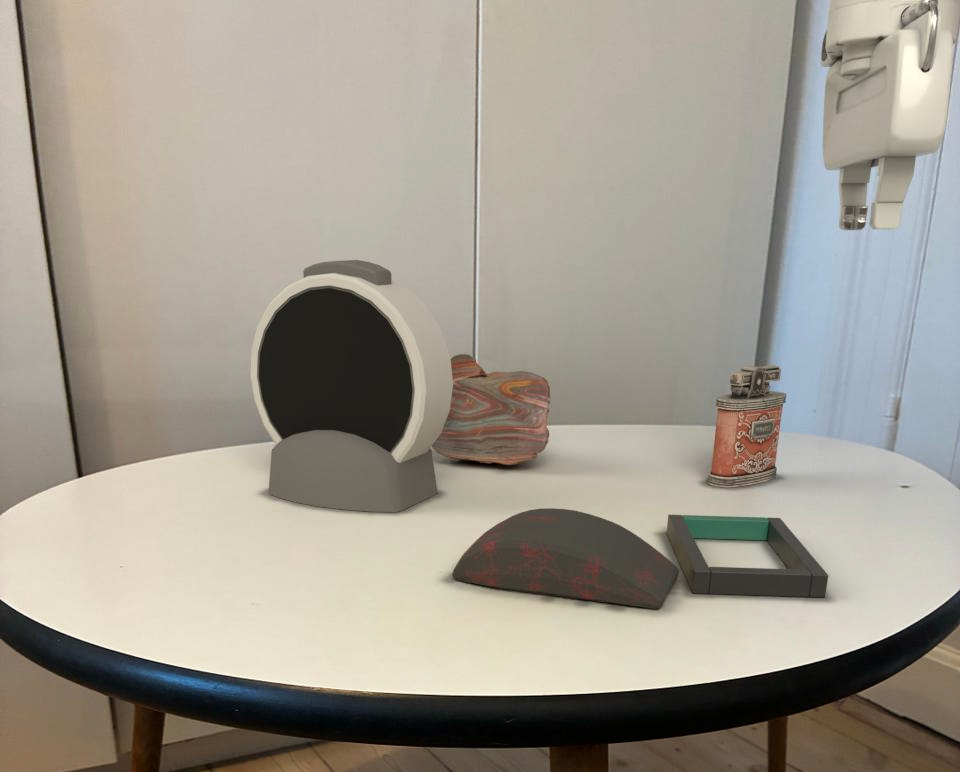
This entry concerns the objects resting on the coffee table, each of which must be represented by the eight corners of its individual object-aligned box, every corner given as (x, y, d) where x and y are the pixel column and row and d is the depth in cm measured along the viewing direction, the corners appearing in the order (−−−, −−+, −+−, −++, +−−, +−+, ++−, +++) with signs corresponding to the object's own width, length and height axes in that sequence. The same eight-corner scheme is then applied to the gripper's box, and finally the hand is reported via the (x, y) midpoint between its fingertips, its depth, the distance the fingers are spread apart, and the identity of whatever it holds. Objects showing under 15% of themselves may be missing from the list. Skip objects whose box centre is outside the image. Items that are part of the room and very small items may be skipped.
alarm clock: (236, 494, 84) (219, 258, 77) (306, 470, 93) (296, 255, 86) (409, 520, 78) (407, 266, 71) (466, 491, 87) (470, 262, 80)
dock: (777, 537, 76) (780, 517, 75) (825, 597, 64) (828, 575, 63) (666, 533, 76) (668, 514, 75) (692, 593, 64) (694, 570, 63)
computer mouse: (485, 551, 71) (486, 495, 70) (681, 575, 67) (687, 516, 66) (442, 586, 64) (443, 525, 63) (659, 616, 60) (665, 550, 58)
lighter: (729, 489, 89) (742, 372, 85) (698, 481, 92) (710, 367, 88) (784, 477, 94) (799, 365, 90) (754, 470, 96) (767, 361, 92)
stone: (413, 463, 96) (412, 354, 92) (443, 447, 104) (443, 344, 100) (543, 475, 93) (548, 362, 89) (564, 457, 100) (570, 351, 96)
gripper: (993, -14, 63) (955, 228, 68) (897, 44, 82) (874, 230, 87) (887, -12, 63) (858, 229, 69) (817, 46, 82) (798, 230, 87)
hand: (866, 230), depth 78 cm, fingers open, 8 cm apart
